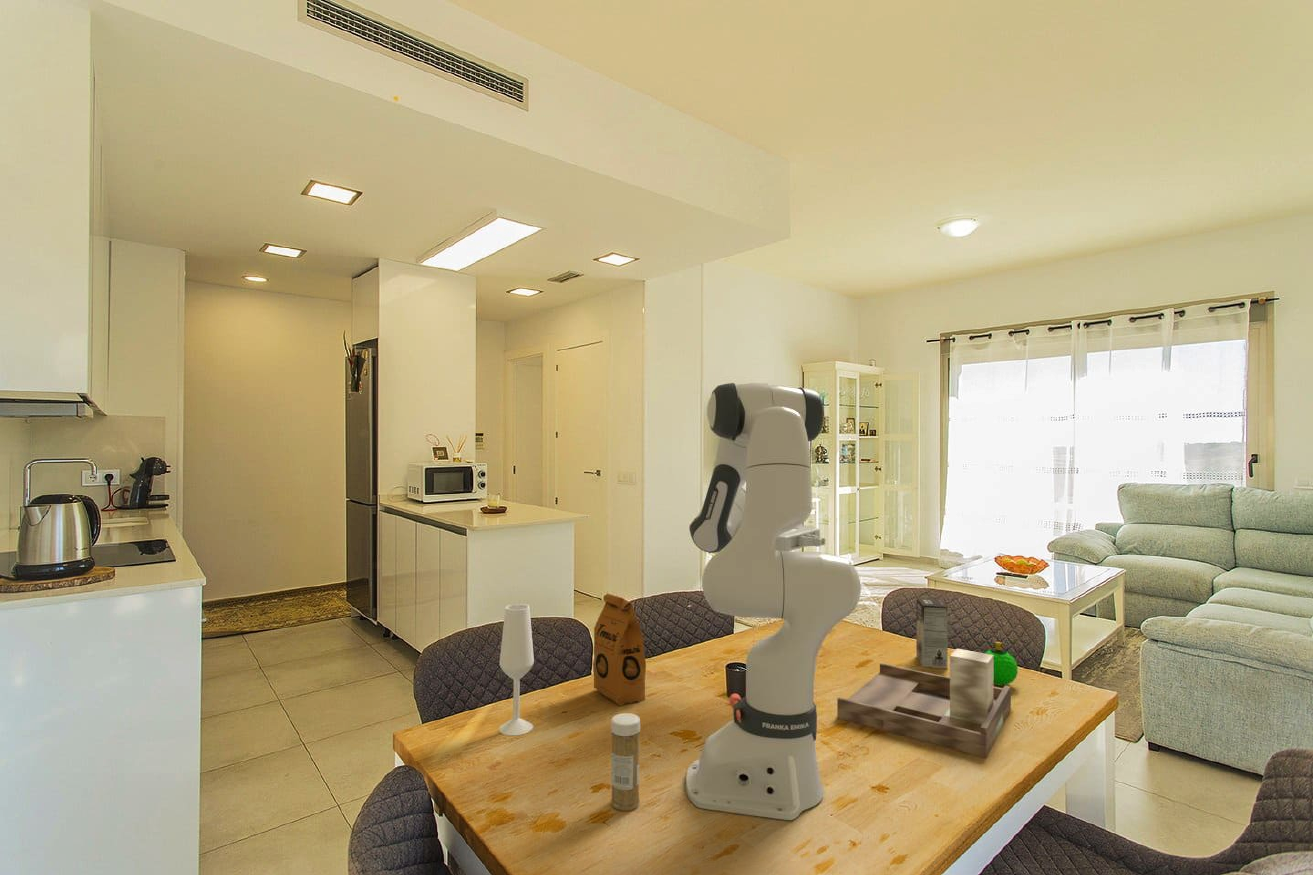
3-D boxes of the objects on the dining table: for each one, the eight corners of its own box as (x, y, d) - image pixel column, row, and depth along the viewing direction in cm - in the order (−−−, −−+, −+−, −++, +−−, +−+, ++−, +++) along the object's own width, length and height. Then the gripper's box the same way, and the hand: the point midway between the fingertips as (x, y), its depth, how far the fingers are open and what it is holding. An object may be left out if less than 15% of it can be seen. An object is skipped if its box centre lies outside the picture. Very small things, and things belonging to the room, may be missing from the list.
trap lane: (837, 717, 134) (837, 693, 134) (880, 679, 156) (880, 658, 156) (985, 757, 117) (985, 730, 117) (1010, 708, 139) (1010, 685, 139)
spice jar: (645, 801, 102) (645, 716, 102) (628, 815, 98) (629, 726, 98) (621, 792, 104) (622, 709, 104) (604, 806, 100) (605, 719, 100)
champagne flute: (538, 730, 127) (539, 608, 127) (504, 738, 123) (506, 612, 123) (526, 718, 132) (527, 601, 133) (494, 725, 129) (495, 605, 129)
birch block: (949, 714, 131) (950, 655, 131) (956, 705, 136) (956, 648, 136) (987, 723, 127) (987, 662, 127) (993, 713, 132) (993, 655, 132)
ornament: (985, 675, 159) (985, 635, 160) (1022, 684, 154) (1022, 642, 154) (974, 684, 154) (974, 642, 154) (1012, 693, 148) (1012, 650, 148)
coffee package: (611, 709, 137) (612, 606, 137) (588, 689, 148) (589, 594, 148) (652, 700, 142) (653, 601, 142) (626, 682, 153) (627, 589, 153)
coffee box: (915, 656, 174) (915, 596, 174) (940, 657, 173) (940, 598, 173) (922, 667, 165) (922, 604, 165) (948, 669, 164) (949, 606, 164)
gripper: (746, 527, 145) (803, 532, 137) (786, 519, 162) (839, 523, 153) (746, 555, 145) (803, 562, 137) (786, 544, 162) (839, 550, 153)
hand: (822, 541), depth 145 cm, fingers closed
